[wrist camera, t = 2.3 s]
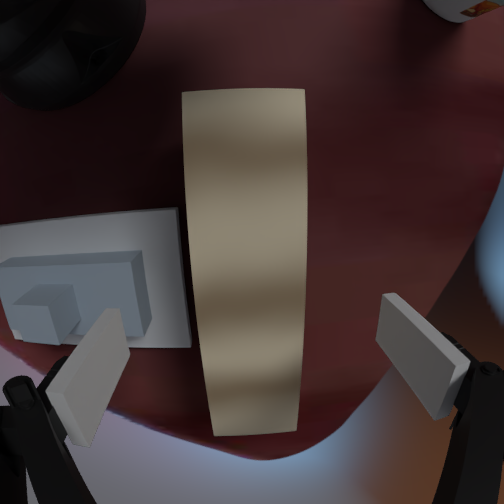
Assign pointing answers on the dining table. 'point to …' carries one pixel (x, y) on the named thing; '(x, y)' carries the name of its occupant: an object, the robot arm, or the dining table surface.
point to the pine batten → (248, 251)
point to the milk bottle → (462, 8)
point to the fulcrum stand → (96, 277)
